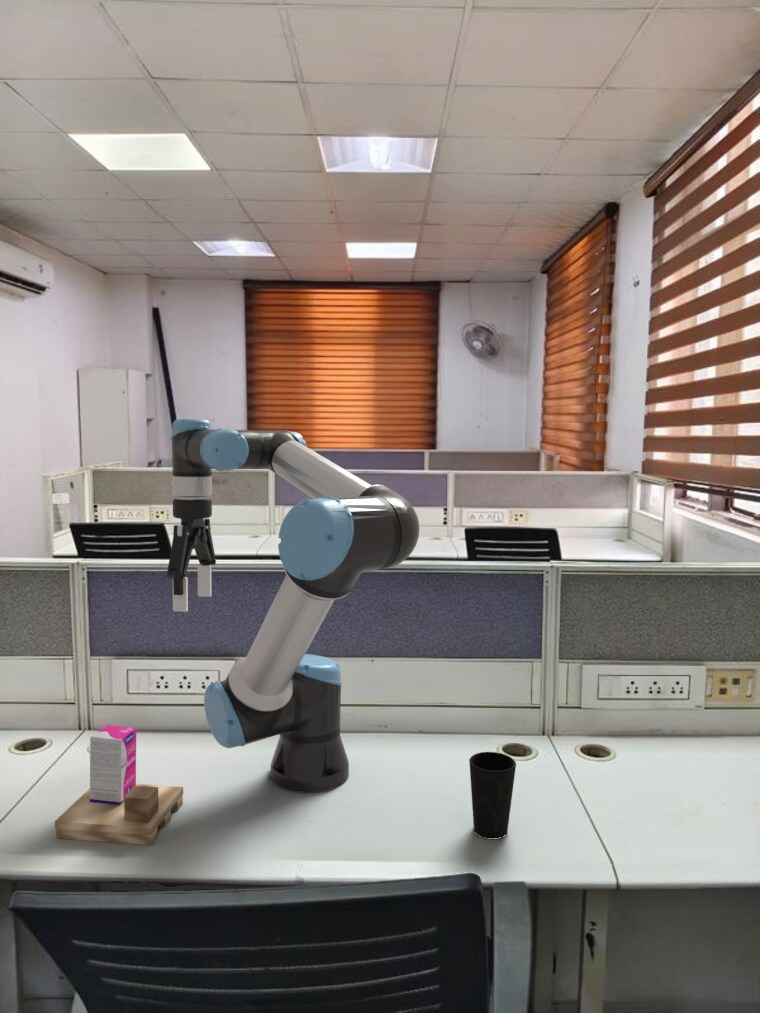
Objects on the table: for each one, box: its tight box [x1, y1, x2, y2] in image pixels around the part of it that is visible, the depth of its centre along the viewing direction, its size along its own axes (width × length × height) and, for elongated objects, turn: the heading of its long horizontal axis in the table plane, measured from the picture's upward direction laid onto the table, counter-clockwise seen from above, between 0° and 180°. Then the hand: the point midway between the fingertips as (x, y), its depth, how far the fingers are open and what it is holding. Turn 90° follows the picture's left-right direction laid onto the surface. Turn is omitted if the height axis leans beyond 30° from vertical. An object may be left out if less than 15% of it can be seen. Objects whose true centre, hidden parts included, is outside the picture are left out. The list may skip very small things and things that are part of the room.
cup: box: [469, 751, 517, 839], centre depth 122 cm, size 8×8×12 cm
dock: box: [54, 783, 184, 846], centre depth 124 cm, size 16×14×3 cm
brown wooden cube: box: [124, 786, 158, 823], centre depth 120 cm, size 4×4×4 cm
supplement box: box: [89, 724, 137, 805], centre depth 126 cm, size 6×6×12 cm
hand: (193, 603), depth 147 cm, fingers open, 13 cm apart
